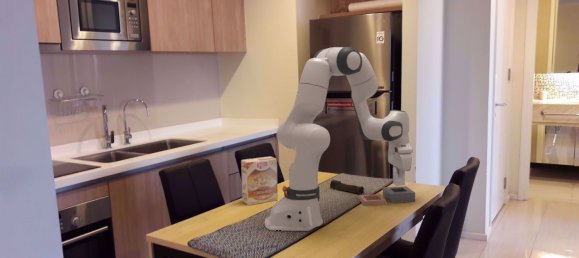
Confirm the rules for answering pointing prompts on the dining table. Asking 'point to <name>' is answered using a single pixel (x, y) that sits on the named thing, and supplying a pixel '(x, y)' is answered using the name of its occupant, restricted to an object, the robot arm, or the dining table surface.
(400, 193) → the socket block
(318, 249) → the dining table surface
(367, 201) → the pink square tray
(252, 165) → the coffeecake box
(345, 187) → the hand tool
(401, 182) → the spigot
